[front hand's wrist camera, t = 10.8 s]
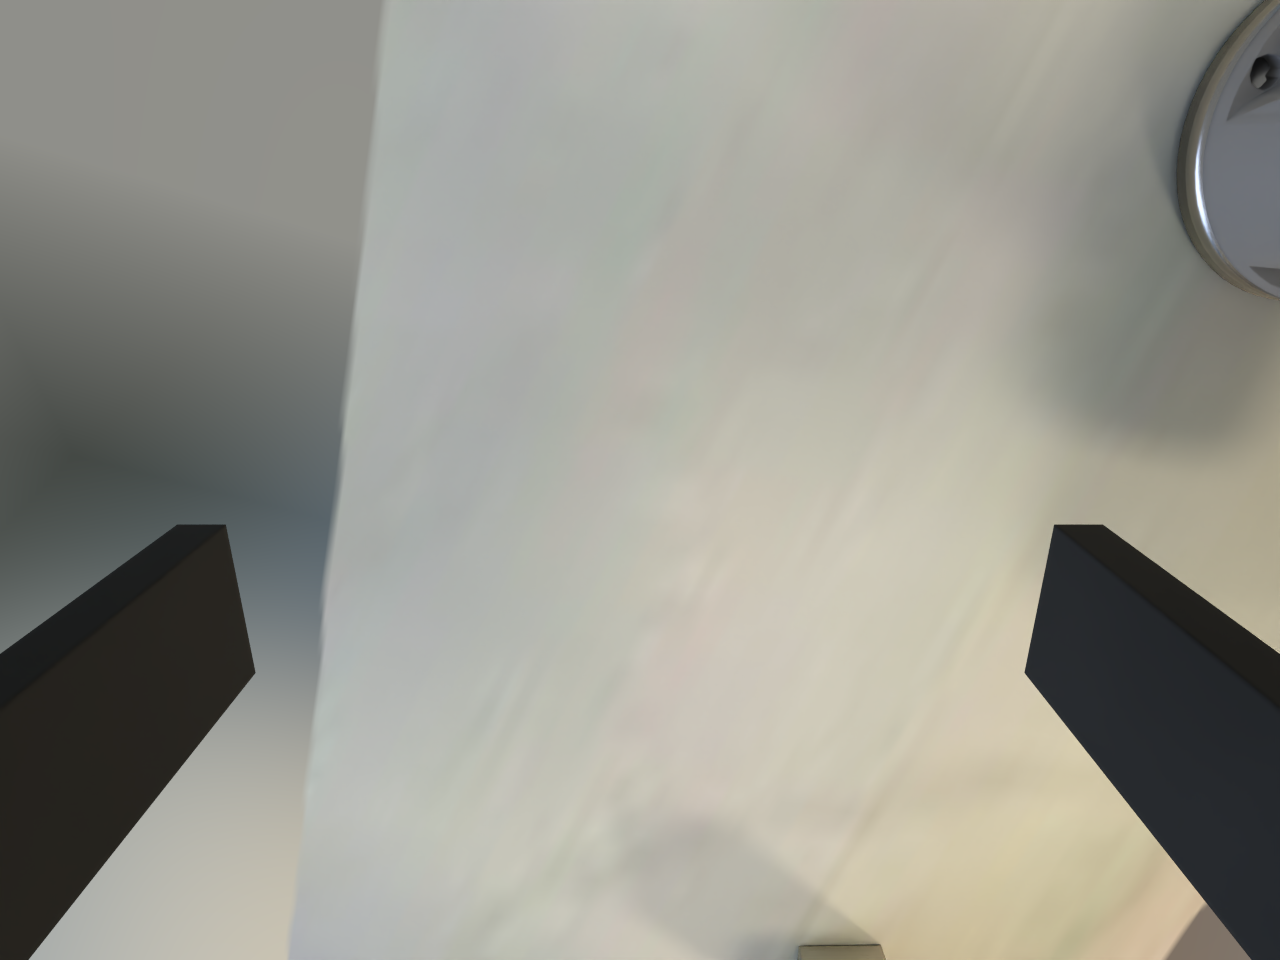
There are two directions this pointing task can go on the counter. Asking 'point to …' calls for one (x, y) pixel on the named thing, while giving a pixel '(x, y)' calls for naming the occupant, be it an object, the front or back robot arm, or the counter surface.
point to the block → (841, 952)
